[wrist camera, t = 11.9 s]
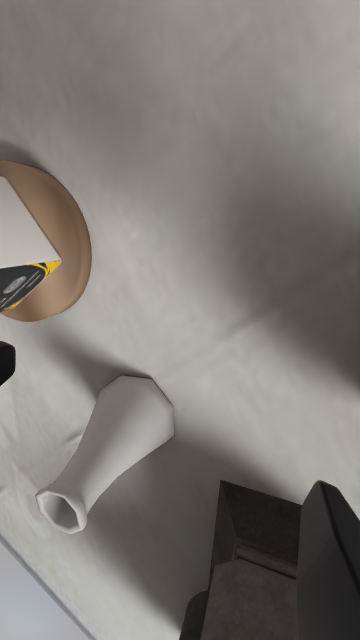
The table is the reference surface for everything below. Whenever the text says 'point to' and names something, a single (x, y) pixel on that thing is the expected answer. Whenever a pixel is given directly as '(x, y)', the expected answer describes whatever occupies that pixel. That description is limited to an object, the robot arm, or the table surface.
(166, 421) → the flask
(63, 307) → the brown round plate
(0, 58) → the table surface
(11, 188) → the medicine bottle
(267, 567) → the juicer
